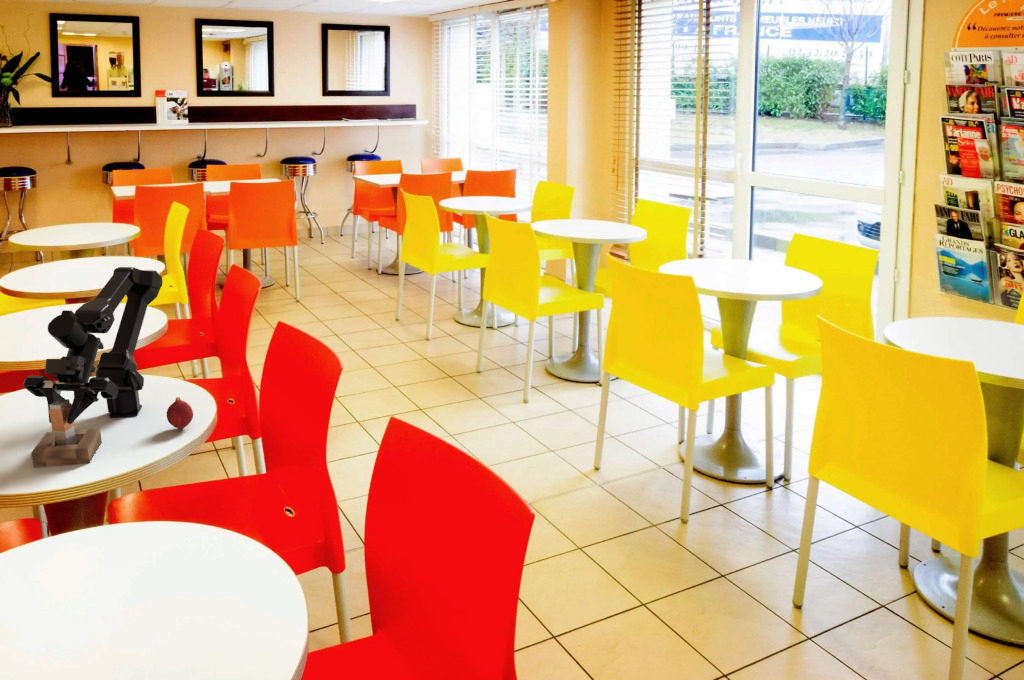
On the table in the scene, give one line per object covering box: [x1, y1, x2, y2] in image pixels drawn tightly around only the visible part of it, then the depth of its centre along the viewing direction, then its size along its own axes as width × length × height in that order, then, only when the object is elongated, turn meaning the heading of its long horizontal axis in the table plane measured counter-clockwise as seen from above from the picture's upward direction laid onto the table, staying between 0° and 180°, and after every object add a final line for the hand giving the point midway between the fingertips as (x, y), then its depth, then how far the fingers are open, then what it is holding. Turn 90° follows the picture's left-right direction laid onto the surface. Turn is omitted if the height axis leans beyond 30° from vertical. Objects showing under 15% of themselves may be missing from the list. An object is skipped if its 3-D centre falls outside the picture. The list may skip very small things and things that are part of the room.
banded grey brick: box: [48, 398, 77, 446], centre depth 185 cm, size 4×3×12 cm
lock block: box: [30, 427, 103, 469], centre depth 186 cm, size 11×11×4 cm
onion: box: [166, 396, 194, 430], centre depth 199 cm, size 6×6×8 cm
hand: (60, 423), depth 183 cm, fingers open, 4 cm apart
